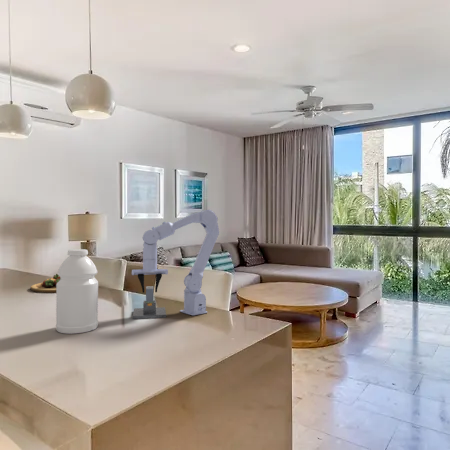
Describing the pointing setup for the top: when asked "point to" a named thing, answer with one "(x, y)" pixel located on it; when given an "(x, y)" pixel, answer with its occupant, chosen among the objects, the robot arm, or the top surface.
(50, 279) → the wooden plate with food
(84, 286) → the bottle
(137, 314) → the stand base
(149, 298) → the column
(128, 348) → the top surface
